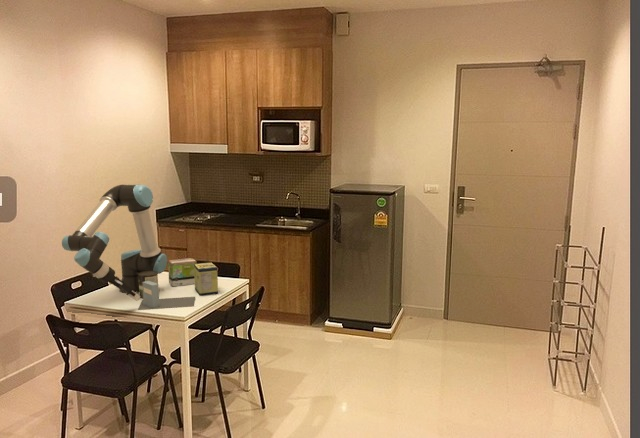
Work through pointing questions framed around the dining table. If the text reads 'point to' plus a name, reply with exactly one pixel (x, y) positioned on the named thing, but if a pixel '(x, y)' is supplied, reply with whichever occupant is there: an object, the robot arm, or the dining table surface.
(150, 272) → the coffee can
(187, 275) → the tea box
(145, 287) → the blue-grey box
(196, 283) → the protein box
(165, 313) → the dining table surface
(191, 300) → the mat
